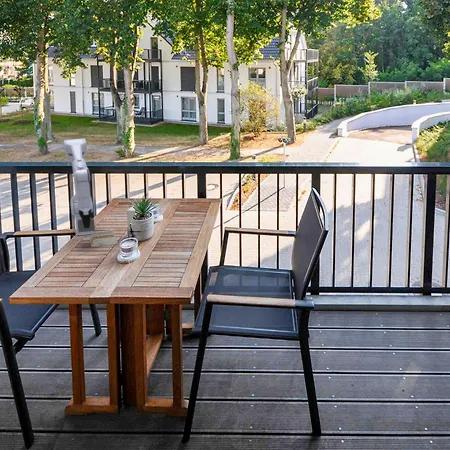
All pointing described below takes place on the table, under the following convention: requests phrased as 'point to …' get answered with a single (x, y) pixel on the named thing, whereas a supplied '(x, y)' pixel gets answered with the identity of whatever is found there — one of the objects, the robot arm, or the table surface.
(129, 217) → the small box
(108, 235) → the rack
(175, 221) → the table surface
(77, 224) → the robot arm
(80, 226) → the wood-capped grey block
